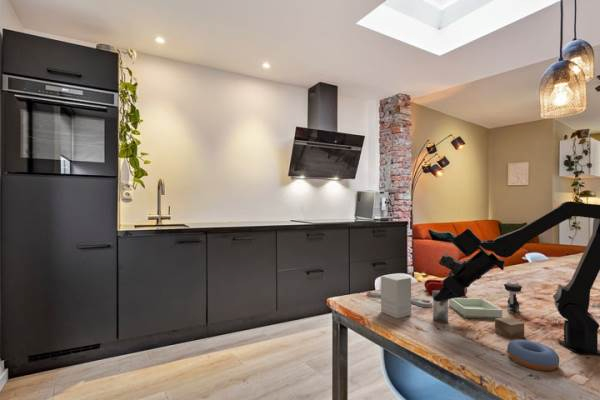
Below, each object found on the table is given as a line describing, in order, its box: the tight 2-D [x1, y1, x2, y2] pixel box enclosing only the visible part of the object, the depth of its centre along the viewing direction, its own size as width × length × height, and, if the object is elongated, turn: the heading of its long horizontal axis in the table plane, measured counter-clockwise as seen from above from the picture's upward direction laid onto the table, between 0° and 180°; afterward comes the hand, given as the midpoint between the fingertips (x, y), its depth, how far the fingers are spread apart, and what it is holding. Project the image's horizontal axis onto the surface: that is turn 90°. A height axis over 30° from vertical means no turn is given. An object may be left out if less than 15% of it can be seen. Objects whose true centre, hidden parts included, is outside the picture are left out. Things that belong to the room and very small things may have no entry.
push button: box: [503, 281, 523, 314], centre depth 107 cm, size 7×5×10 cm
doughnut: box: [506, 339, 560, 372], centre depth 72 cm, size 10×10×5 cm
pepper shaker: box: [431, 290, 449, 324], centre depth 98 cm, size 5×5×9 cm
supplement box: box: [380, 273, 412, 319], centre depth 103 cm, size 7×7×13 cm
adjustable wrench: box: [366, 291, 433, 308], centre depth 119 cm, size 25×6×2 cm, turn 53°
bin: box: [448, 297, 503, 320], centre depth 105 cm, size 12×12×3 cm
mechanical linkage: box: [424, 278, 468, 297], centre depth 128 cm, size 16×7×5 cm, turn 74°
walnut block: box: [494, 316, 525, 340], centre depth 87 cm, size 5×5×4 cm
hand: (437, 296), depth 98 cm, fingers open, 9 cm apart
